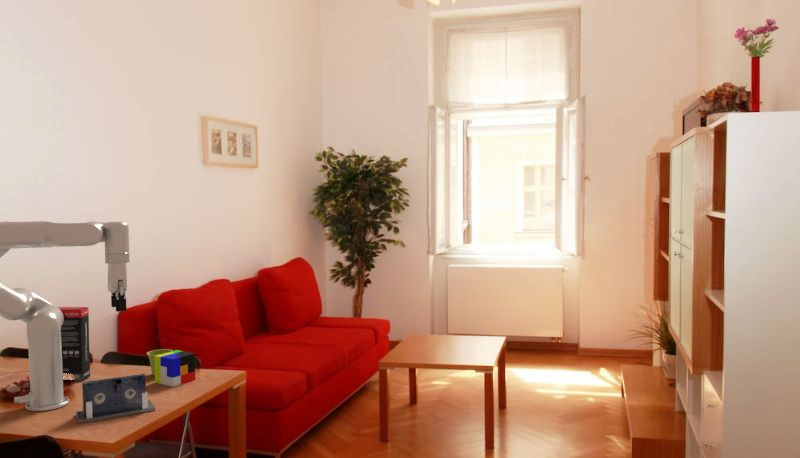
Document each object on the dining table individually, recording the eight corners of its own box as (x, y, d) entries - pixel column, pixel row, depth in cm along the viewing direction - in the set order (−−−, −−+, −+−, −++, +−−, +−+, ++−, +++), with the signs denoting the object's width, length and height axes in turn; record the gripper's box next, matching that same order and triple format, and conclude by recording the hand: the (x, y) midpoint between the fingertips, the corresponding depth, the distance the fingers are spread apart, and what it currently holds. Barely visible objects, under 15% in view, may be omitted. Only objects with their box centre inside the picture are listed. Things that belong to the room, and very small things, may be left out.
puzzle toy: (173, 386, 235) (172, 359, 234) (155, 382, 240) (154, 355, 240) (195, 380, 243) (194, 353, 243) (177, 376, 249) (176, 350, 248)
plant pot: (141, 376, 248) (141, 353, 248) (159, 370, 257) (159, 348, 256) (161, 378, 245) (160, 355, 244) (178, 372, 253) (178, 350, 253)
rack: (79, 423, 197) (78, 404, 197) (75, 415, 205) (75, 396, 205) (155, 410, 209) (154, 392, 209) (149, 402, 217) (149, 385, 216)
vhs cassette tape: (145, 403, 213) (144, 373, 212) (146, 405, 210) (146, 375, 210) (82, 413, 204) (81, 381, 203) (83, 416, 201) (82, 384, 201)
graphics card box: (92, 376, 248) (89, 305, 247) (83, 381, 241) (81, 308, 240) (46, 377, 248) (43, 305, 246) (36, 382, 241) (33, 309, 239)
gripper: (101, 257, 225) (103, 306, 226) (108, 261, 211) (110, 314, 212) (125, 255, 229) (126, 304, 230) (133, 260, 215) (135, 311, 216)
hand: (118, 308), depth 221 cm, fingers open, 9 cm apart
